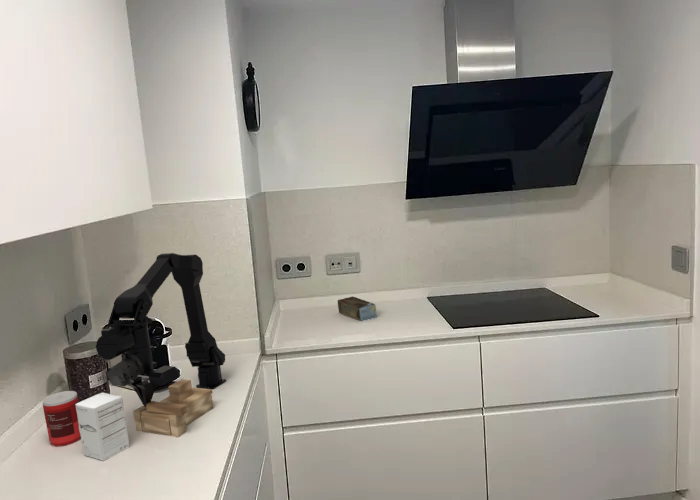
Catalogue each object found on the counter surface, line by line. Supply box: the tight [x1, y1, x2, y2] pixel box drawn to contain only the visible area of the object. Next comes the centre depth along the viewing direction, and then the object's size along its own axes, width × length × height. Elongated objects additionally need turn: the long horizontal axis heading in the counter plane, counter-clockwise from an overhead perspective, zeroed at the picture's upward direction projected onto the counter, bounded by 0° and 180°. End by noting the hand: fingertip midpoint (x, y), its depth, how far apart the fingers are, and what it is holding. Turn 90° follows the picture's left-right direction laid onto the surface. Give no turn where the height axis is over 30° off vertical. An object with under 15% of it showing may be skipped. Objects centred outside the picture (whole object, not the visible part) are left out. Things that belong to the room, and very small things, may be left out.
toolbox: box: [132, 393, 215, 438], centre depth 141 cm, size 16×14×5 cm
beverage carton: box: [337, 296, 378, 322], centre depth 227 cm, size 8×19×7 cm, turn 29°
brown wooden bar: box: [146, 400, 188, 416], centre depth 134 cm, size 2×11×2 cm, turn 65°
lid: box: [141, 378, 213, 419], centre depth 141 cm, size 16×9×5 cm, turn 155°
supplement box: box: [75, 392, 130, 462], centre depth 127 cm, size 7×7×13 cm
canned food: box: [42, 390, 81, 447], centre depth 136 cm, size 8×8×11 cm
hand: (147, 406), depth 136 cm, fingers closed
